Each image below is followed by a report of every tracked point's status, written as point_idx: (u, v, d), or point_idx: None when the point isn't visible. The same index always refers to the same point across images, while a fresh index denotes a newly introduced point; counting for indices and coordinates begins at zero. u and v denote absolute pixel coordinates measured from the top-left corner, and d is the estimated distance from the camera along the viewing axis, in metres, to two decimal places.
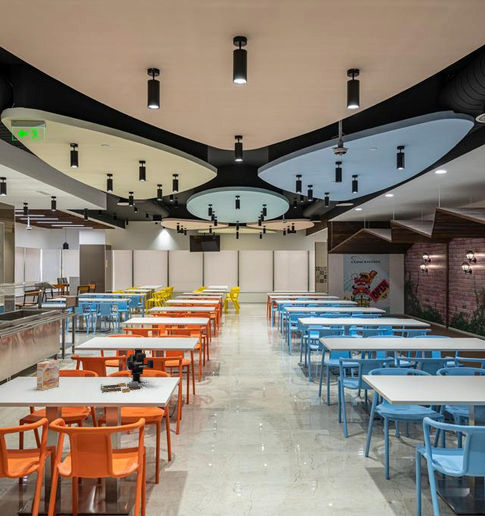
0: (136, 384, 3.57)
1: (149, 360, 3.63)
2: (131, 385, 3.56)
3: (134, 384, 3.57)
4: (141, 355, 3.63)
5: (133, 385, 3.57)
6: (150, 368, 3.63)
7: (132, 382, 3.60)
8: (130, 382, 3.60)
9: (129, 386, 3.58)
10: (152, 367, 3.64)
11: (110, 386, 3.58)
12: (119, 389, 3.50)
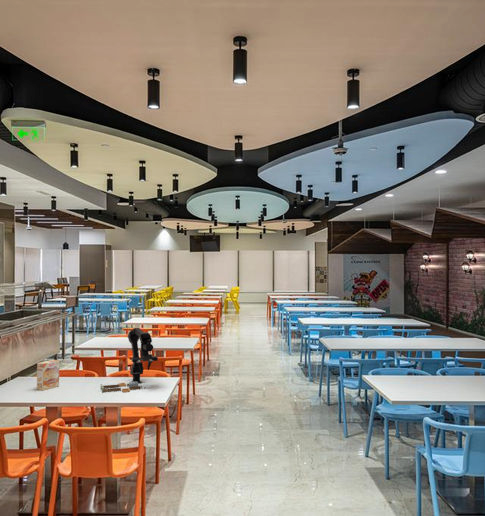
0: (136, 384, 3.57)
1: (153, 360, 3.63)
2: (131, 385, 3.56)
3: (134, 384, 3.57)
4: None
5: (133, 385, 3.57)
6: None
7: (132, 382, 3.60)
8: (130, 382, 3.60)
9: (129, 386, 3.59)
10: None
11: (110, 386, 3.58)
12: (119, 389, 3.50)
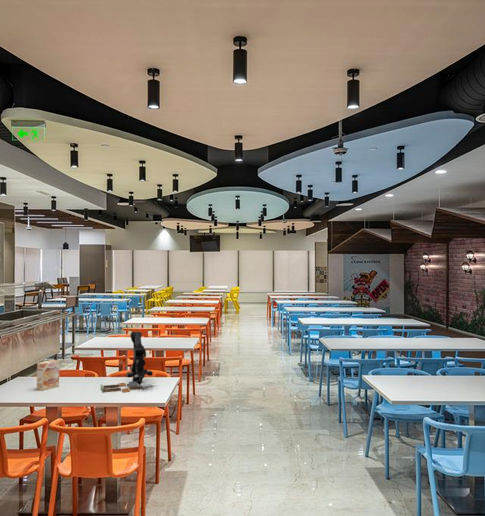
0: (135, 384, 3.57)
1: (148, 375, 3.61)
2: (130, 385, 3.56)
3: (133, 384, 3.57)
4: None
5: (132, 385, 3.56)
6: None
7: (131, 382, 3.60)
8: (129, 382, 3.60)
9: None
10: None
11: (110, 386, 3.58)
12: (119, 389, 3.50)
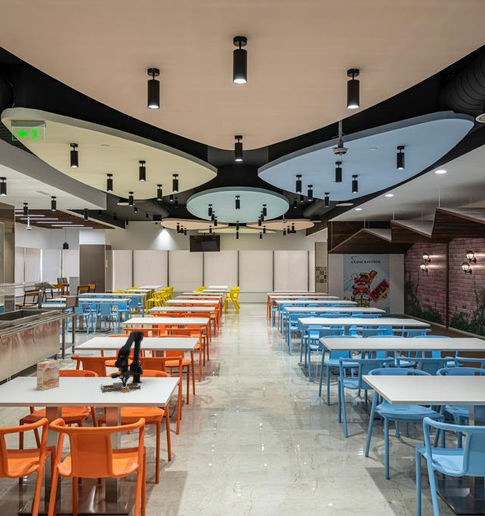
0: (119, 385, 3.53)
1: (133, 376, 3.57)
2: (114, 386, 3.52)
3: (117, 385, 3.53)
4: None
5: (116, 386, 3.52)
6: None
7: (116, 383, 3.56)
8: (114, 383, 3.56)
9: None
10: None
11: (110, 386, 3.58)
12: (119, 389, 3.50)
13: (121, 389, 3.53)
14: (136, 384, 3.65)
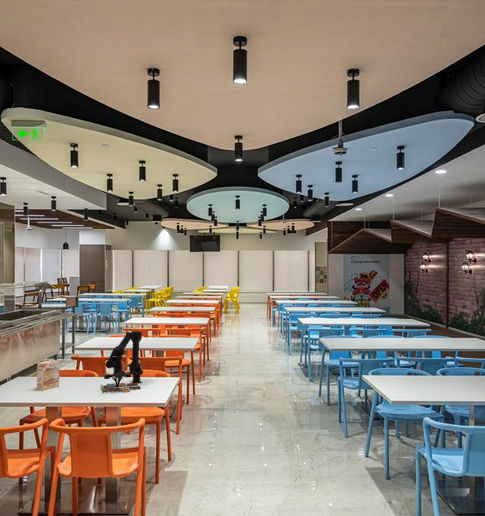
0: (112, 386, 3.51)
1: None
2: (107, 387, 3.50)
3: (110, 386, 3.51)
4: None
5: (109, 387, 3.51)
6: None
7: (109, 384, 3.54)
8: (107, 384, 3.54)
9: None
10: None
11: None
12: (119, 389, 3.50)
13: None
14: (136, 384, 3.65)
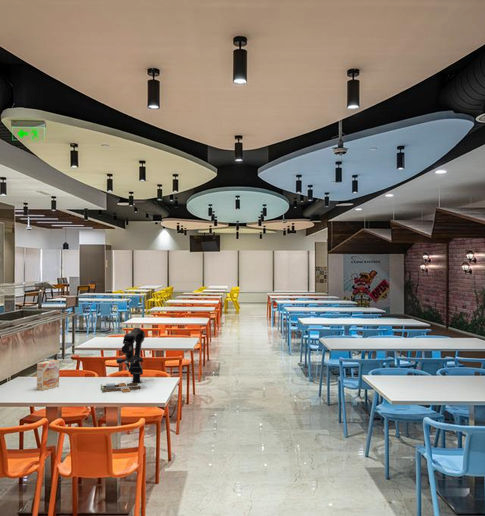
0: (112, 386, 3.51)
1: (138, 362, 3.59)
2: (107, 387, 3.50)
3: (110, 386, 3.51)
4: None
5: (109, 387, 3.50)
6: None
7: (109, 384, 3.54)
8: (107, 384, 3.54)
9: None
10: None
11: None
12: (119, 389, 3.50)
13: None
14: (136, 384, 3.65)
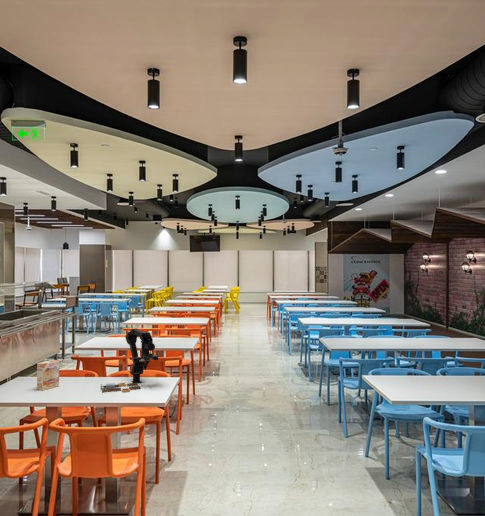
0: (112, 386, 3.51)
1: None
2: (107, 387, 3.50)
3: (110, 386, 3.51)
4: None
5: (109, 387, 3.50)
6: None
7: (109, 384, 3.54)
8: (107, 384, 3.54)
9: None
10: None
11: None
12: (119, 389, 3.50)
13: None
14: (136, 384, 3.65)
